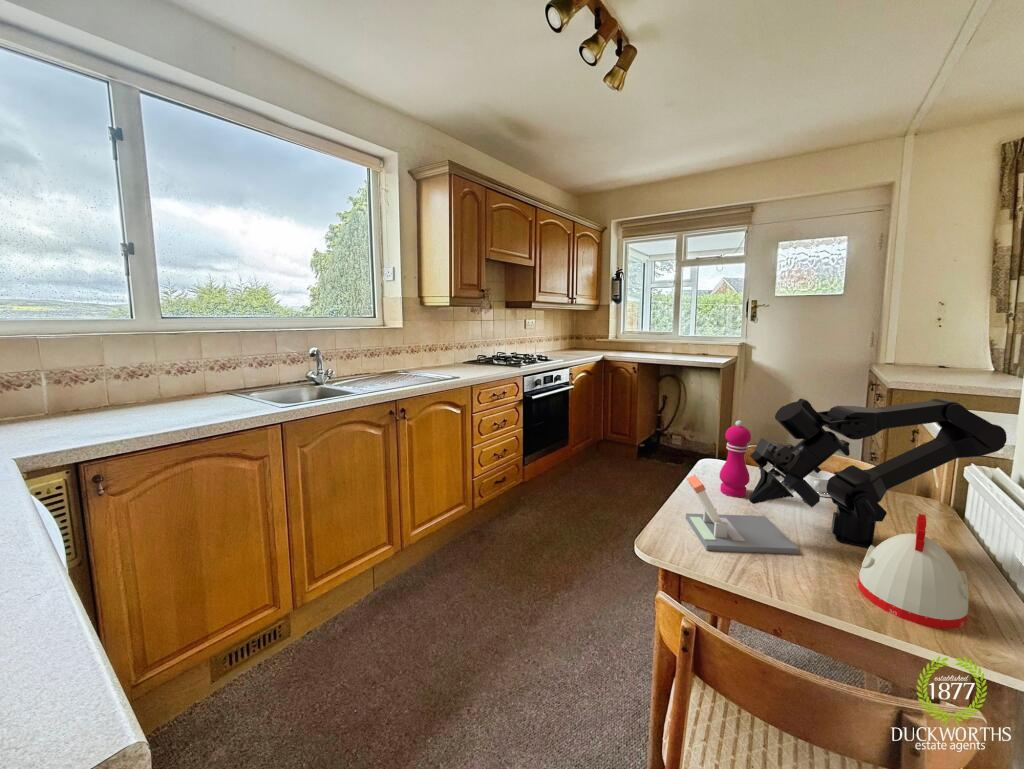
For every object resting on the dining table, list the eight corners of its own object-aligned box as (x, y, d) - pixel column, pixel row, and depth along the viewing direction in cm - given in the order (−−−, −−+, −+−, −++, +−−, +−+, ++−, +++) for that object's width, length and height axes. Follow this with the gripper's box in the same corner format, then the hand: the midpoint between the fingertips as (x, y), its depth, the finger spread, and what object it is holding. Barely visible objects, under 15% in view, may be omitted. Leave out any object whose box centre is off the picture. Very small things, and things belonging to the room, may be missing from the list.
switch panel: (764, 520, 103) (766, 503, 102) (797, 553, 89) (800, 533, 88) (685, 518, 104) (686, 500, 104) (706, 550, 91) (708, 530, 90)
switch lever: (714, 510, 99) (694, 474, 98) (723, 521, 94) (702, 484, 93) (705, 514, 99) (686, 478, 98) (714, 525, 94) (694, 488, 93)
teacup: (802, 480, 127) (803, 465, 126) (844, 490, 120) (846, 474, 119) (793, 491, 120) (794, 474, 119) (837, 502, 113) (839, 485, 112)
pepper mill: (745, 500, 114) (752, 425, 110) (715, 493, 118) (721, 421, 114) (750, 491, 119) (757, 419, 116) (721, 484, 124) (727, 415, 120)
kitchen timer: (962, 597, 76) (978, 517, 73) (970, 642, 66) (989, 551, 63) (860, 566, 85) (871, 493, 82) (853, 602, 75) (866, 520, 72)
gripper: (762, 416, 101) (709, 461, 104) (809, 440, 83) (744, 495, 86) (794, 449, 102) (741, 493, 105) (848, 481, 83) (782, 533, 86)
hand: (750, 501), depth 95 cm, fingers closed
